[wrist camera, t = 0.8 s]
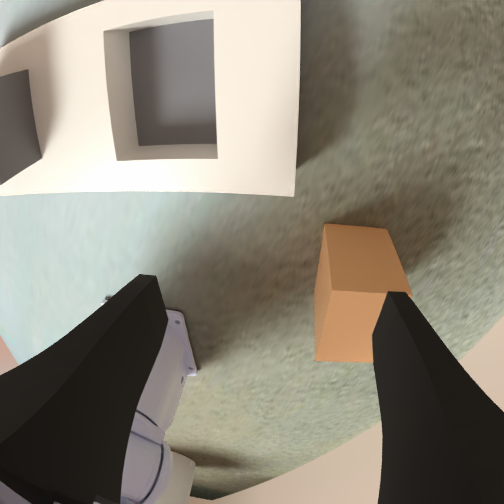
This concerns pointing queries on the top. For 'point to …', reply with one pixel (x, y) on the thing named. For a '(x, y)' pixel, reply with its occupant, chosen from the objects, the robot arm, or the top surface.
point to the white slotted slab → (154, 99)
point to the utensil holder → (179, 481)
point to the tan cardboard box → (353, 290)
